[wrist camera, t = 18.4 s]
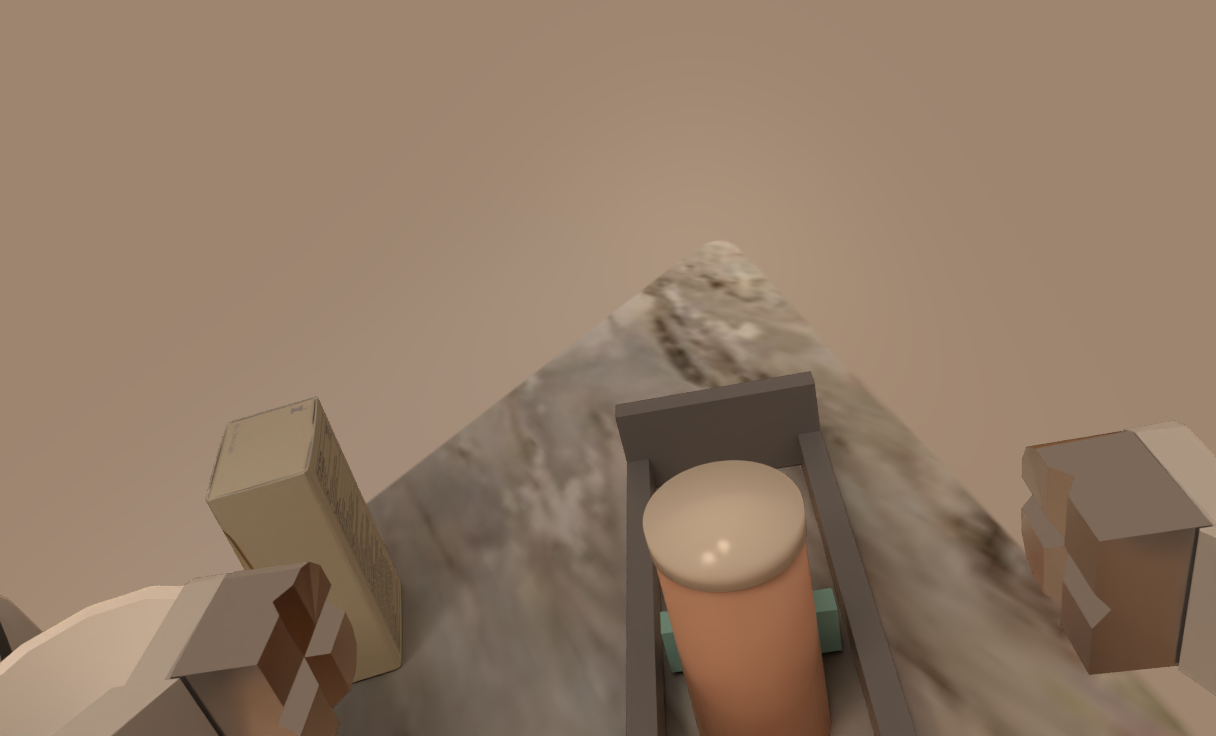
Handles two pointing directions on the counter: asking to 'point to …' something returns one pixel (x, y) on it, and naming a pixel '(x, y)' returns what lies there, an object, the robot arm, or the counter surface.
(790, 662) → the terracotta jar
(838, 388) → the counter surface
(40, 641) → the foam cup
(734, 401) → the pusher lane
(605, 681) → the counter surface
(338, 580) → the skincare box
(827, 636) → the pusher plate
